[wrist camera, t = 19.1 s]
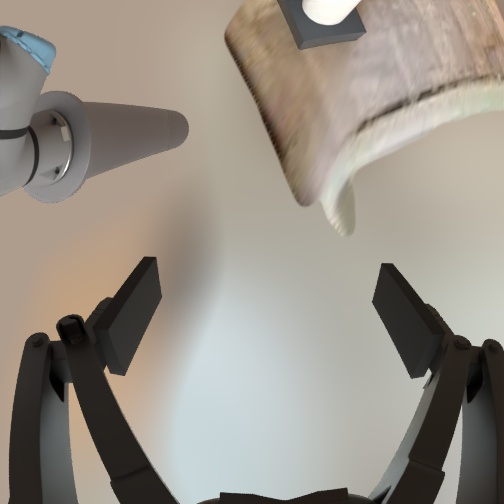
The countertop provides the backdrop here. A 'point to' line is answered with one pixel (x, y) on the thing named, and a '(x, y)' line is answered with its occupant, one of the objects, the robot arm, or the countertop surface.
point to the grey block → (319, 26)
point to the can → (328, 10)
